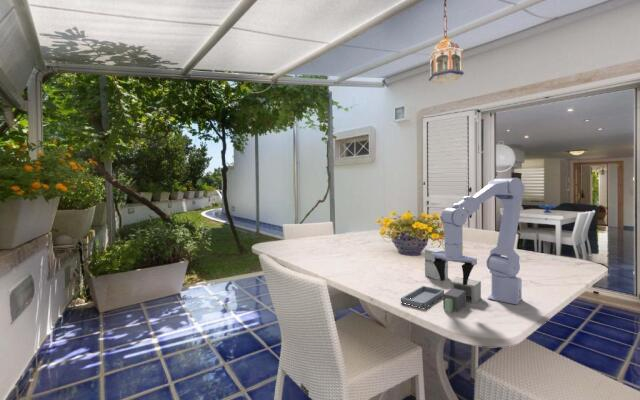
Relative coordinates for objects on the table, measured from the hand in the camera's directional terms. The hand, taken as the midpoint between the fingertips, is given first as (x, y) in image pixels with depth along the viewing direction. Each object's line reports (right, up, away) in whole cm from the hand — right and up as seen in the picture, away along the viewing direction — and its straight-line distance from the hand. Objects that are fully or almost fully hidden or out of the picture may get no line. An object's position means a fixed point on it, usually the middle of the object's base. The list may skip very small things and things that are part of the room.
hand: (453, 282), depth 114 cm
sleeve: (+8, -8, +9) cm, 15 cm away
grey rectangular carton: (0, -9, 0) cm, 9 cm away
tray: (-8, -9, +9) cm, 15 cm away
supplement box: (+7, -7, +37) cm, 38 cm away
